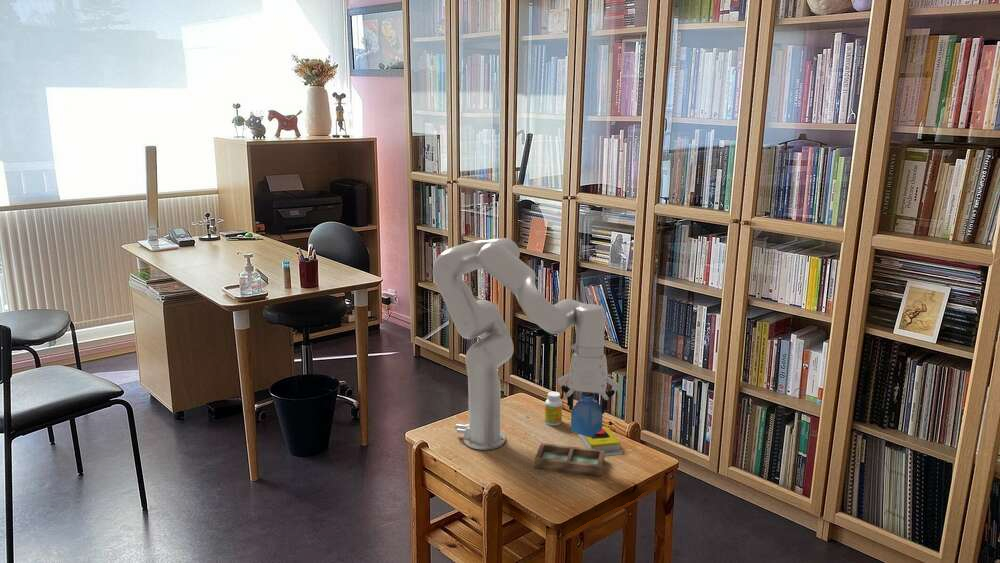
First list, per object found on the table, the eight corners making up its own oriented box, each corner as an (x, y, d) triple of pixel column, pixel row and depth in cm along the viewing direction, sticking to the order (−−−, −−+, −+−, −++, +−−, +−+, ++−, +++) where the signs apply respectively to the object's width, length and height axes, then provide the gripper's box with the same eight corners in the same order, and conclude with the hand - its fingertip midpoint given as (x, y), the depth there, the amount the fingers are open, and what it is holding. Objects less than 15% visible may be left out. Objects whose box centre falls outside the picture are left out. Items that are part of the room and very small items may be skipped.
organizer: (534, 468, 201) (534, 459, 200) (540, 452, 210) (541, 442, 210) (600, 477, 197) (601, 467, 196) (604, 459, 206) (604, 450, 205)
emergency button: (606, 420, 223) (624, 441, 209) (605, 433, 224) (623, 455, 210) (577, 422, 221) (593, 444, 207) (576, 435, 222) (593, 458, 208)
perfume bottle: (583, 423, 204) (584, 383, 201) (601, 429, 200) (603, 389, 197) (570, 431, 199) (572, 390, 196) (589, 437, 196) (591, 396, 193)
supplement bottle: (544, 425, 228) (545, 397, 225) (544, 418, 233) (545, 390, 230) (561, 426, 227) (562, 397, 225) (561, 418, 233) (562, 390, 230)
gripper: (555, 352, 193) (553, 412, 197) (621, 357, 189) (618, 419, 193) (559, 343, 200) (558, 401, 204) (623, 348, 196) (620, 407, 200)
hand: (587, 409), depth 198 cm, fingers closed on perfume bottle, 8 cm apart
